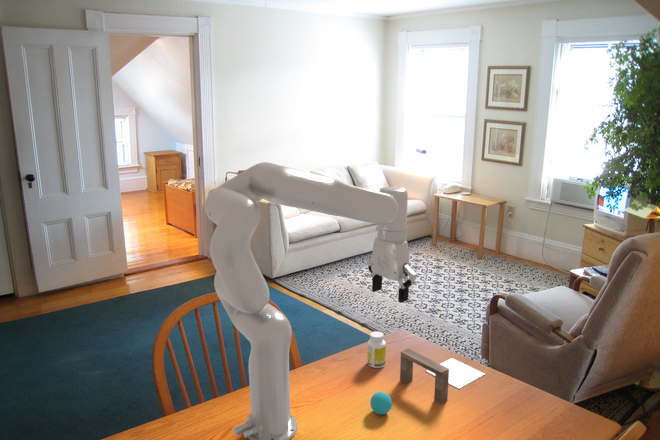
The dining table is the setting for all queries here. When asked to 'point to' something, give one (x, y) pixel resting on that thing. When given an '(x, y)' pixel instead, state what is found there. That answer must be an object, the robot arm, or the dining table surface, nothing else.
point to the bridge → (439, 370)
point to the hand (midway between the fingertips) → (389, 295)
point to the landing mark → (459, 373)
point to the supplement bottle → (376, 350)
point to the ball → (381, 403)
